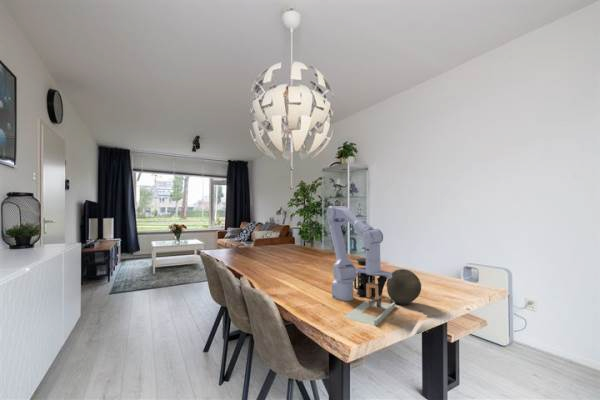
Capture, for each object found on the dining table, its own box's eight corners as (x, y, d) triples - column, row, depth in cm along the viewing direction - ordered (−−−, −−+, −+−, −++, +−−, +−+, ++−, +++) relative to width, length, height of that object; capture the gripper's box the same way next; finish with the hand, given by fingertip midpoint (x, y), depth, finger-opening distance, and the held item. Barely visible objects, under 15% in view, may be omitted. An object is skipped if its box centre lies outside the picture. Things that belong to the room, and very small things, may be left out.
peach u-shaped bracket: (366, 297, 109) (366, 283, 109) (368, 295, 110) (368, 282, 111) (378, 299, 106) (378, 285, 106) (380, 297, 108) (380, 284, 108)
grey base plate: (343, 320, 103) (343, 312, 103) (365, 303, 120) (365, 296, 121) (376, 329, 95) (376, 320, 95) (395, 309, 113) (395, 302, 113)
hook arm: (368, 317, 105) (367, 301, 105) (377, 308, 114) (377, 293, 114) (371, 318, 104) (371, 302, 104) (381, 309, 113) (381, 294, 113)
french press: (370, 290, 139) (370, 245, 140) (381, 295, 130) (380, 248, 131) (350, 292, 136) (349, 246, 136) (359, 298, 127) (359, 249, 127)
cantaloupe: (390, 309, 114) (389, 273, 114) (384, 297, 127) (384, 266, 128) (425, 310, 112) (424, 274, 112) (415, 299, 126) (415, 266, 126)
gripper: (352, 259, 110) (352, 293, 109) (387, 263, 101) (388, 300, 101) (359, 256, 115) (359, 288, 115) (393, 260, 107) (394, 294, 106)
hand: (373, 293), depth 108 cm, fingers closed on peach u-shaped bracket, 5 cm apart
